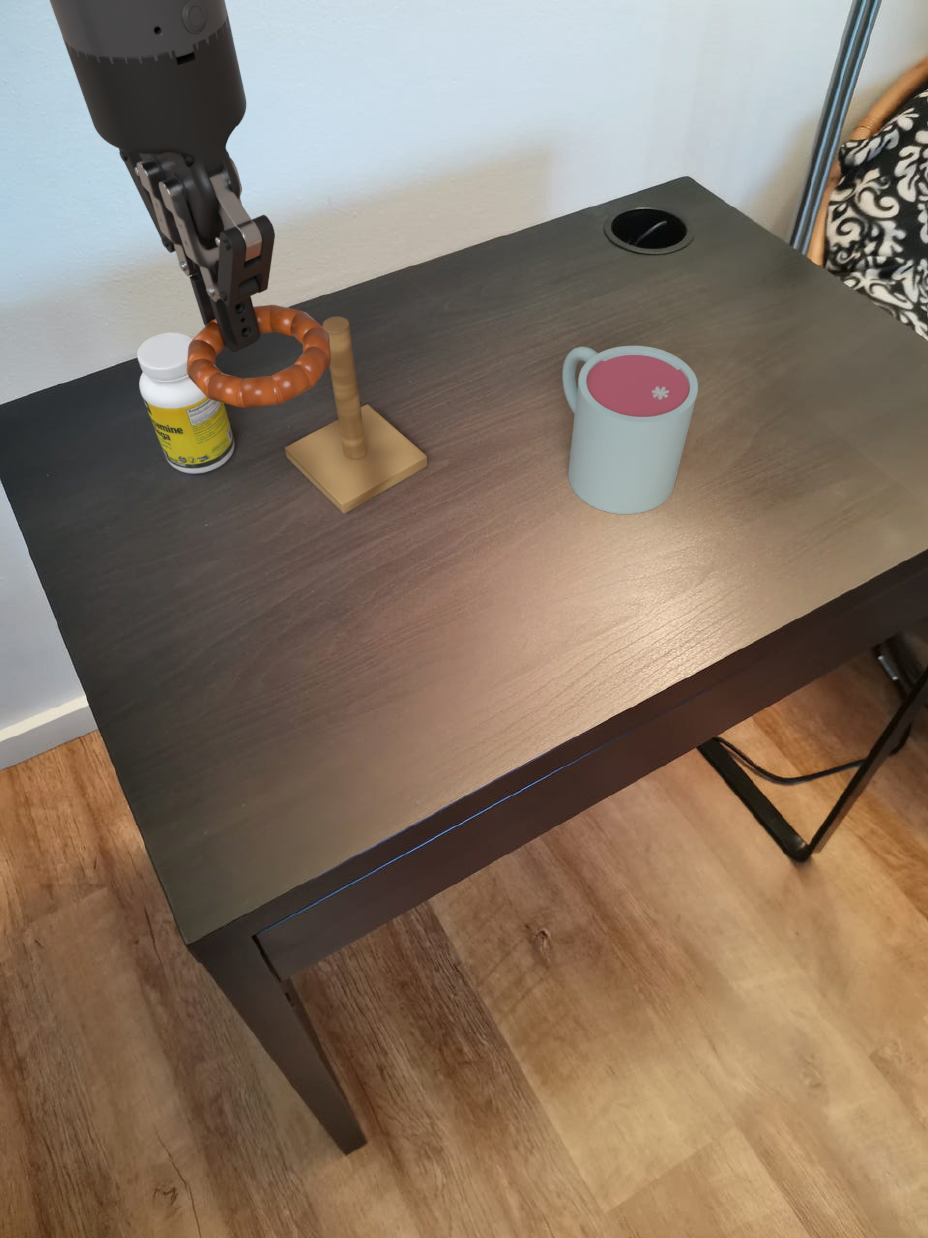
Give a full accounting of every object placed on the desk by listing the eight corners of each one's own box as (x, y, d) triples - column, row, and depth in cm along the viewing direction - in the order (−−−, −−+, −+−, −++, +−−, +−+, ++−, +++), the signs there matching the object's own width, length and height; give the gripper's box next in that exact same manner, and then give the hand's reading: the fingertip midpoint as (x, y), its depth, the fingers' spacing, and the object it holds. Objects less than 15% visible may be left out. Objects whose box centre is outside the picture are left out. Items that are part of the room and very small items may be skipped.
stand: (344, 514, 74) (319, 378, 63) (286, 457, 79) (253, 319, 67) (428, 465, 78) (419, 328, 66) (368, 413, 82) (350, 275, 70)
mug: (697, 487, 76) (723, 394, 68) (609, 529, 73) (625, 438, 65) (602, 397, 83) (615, 304, 75) (519, 433, 80) (523, 340, 72)
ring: (235, 433, 50) (228, 411, 48) (167, 359, 54) (159, 337, 52) (359, 371, 52) (355, 348, 51) (285, 305, 56) (280, 283, 55)
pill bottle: (152, 453, 79) (110, 351, 70) (208, 419, 82) (174, 315, 73) (194, 487, 77) (156, 384, 68) (250, 450, 79) (221, 347, 70)
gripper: (7, -8, 42) (129, 307, 56) (134, 90, 36) (236, 419, 50) (150, -48, 45) (232, 263, 59) (292, 37, 38) (346, 364, 52)
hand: (233, 334), depth 54 cm, fingers closed on ring, 2 cm apart
